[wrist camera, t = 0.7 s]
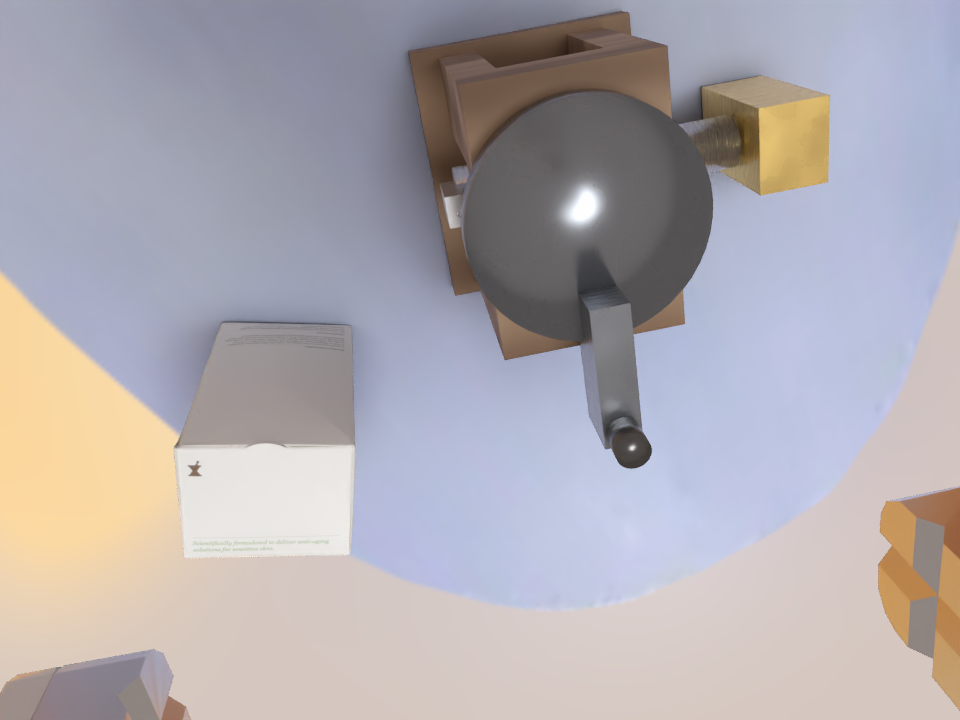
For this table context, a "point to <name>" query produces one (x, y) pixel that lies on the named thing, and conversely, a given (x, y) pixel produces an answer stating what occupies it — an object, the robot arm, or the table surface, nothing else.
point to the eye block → (510, 88)
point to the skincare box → (270, 444)
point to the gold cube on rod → (740, 138)
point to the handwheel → (589, 235)
